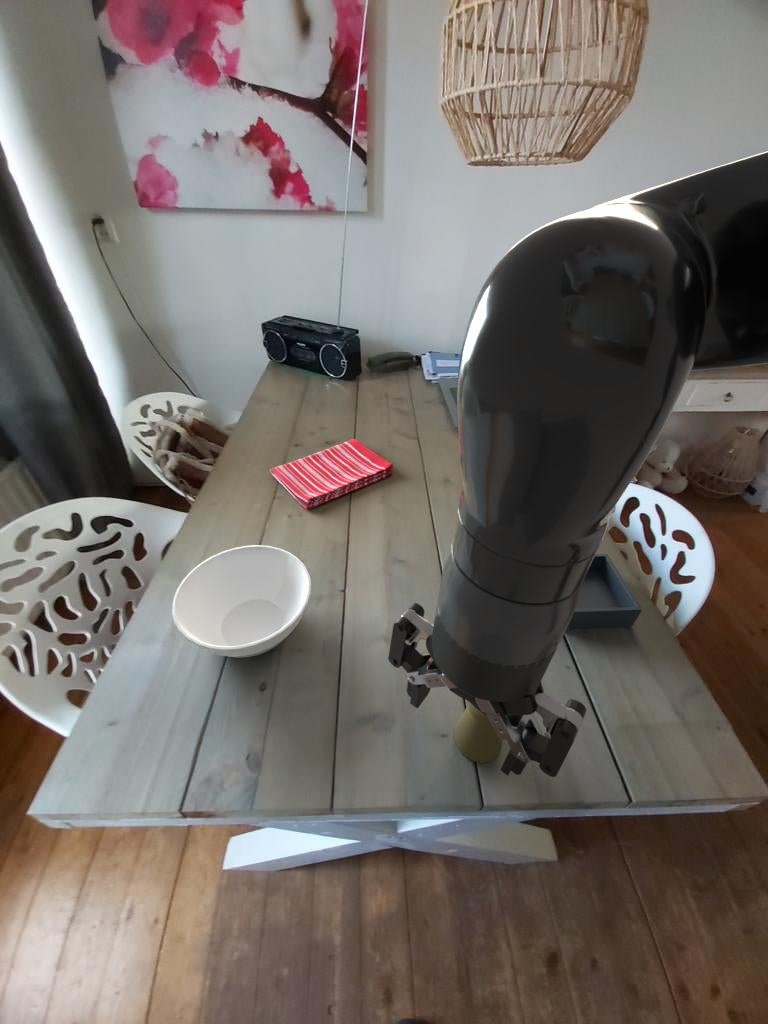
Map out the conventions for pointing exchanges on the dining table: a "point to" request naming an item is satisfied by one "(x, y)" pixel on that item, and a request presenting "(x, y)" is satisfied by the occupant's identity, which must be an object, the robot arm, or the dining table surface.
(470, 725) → the cork
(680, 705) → the dining table surface
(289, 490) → the dish towel
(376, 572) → the dining table surface
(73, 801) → the dining table surface
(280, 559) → the bowl
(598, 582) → the square tray
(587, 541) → the robot arm
